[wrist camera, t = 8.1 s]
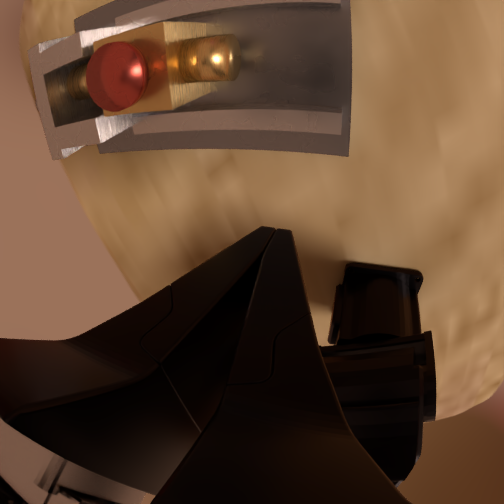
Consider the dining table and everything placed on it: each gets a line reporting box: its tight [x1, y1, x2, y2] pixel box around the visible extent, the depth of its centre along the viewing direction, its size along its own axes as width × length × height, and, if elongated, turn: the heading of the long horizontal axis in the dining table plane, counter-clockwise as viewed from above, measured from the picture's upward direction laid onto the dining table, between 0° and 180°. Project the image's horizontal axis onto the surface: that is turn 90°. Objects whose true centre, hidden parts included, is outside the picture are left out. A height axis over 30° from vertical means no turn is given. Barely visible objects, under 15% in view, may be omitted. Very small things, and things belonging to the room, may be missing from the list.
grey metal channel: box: [28, 0, 352, 160], centre depth 14 cm, size 21×12×6 cm, turn 94°
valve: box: [67, 22, 241, 117], centre depth 14 cm, size 11×5×6 cm, turn 92°
